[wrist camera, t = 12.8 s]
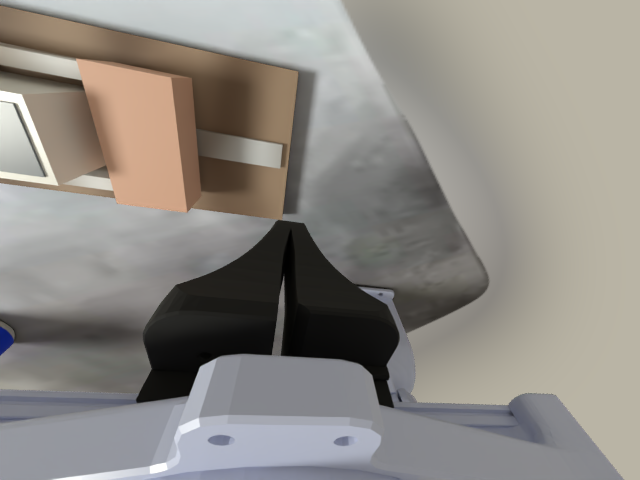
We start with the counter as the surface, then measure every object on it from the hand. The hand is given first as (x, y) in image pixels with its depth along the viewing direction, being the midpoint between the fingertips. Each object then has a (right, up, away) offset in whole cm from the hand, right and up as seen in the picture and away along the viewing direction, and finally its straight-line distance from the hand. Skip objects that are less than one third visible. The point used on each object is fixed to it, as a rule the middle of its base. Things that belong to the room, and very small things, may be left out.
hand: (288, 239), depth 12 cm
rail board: (-11, +7, +4) cm, 14 cm away
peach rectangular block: (-8, +6, +3) cm, 11 cm away
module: (-15, +7, +3) cm, 17 cm away
